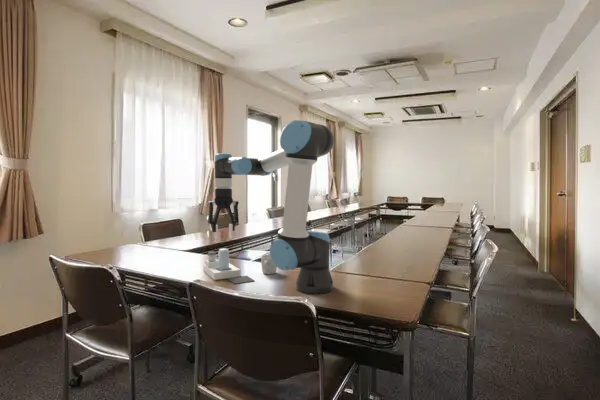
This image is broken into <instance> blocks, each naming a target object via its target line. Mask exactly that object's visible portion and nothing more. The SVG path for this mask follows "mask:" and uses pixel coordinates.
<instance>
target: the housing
mask: <svg viewBox="0 0 600 400" xmlns="http://www.w3.org/2000/svg"><path fill="white" fill-rule="evenodd" d="M204 261H205V262H204V263H205V264H203V267H202V269H203V272H204V273H205V274H207V275H208V276H209V277H210V278H211V279H212V280H213V281H216V280H223V279H228V278H233V277H240V276H241V269H240V268H238V267H236V266H235V265H233V264H232V263H230V262H229V270H224V271H218V258H216V261H212V262H209V259H205V260H204Z"/></svg>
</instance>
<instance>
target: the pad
mask: <svg viewBox="0 0 600 400" xmlns="http://www.w3.org/2000/svg"><path fill="white" fill-rule="evenodd" d="M227 280H228V281H229V282H231V283H232V284H233V285H240V284H246V283H253V282H255V279H253V278H252V277H250V276H248V275H242V276H241V275H240V277H232V278H227Z"/></svg>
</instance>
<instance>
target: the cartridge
mask: <svg viewBox="0 0 600 400" xmlns="http://www.w3.org/2000/svg"><path fill="white" fill-rule="evenodd" d="M217 253H218V254H217V255H218V257H217V260H218V271H224V270H229V263H230V251H229V249H228V248H219V249H218V251H217Z"/></svg>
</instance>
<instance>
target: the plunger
mask: <svg viewBox="0 0 600 400" xmlns="http://www.w3.org/2000/svg"><path fill="white" fill-rule="evenodd" d="M207 255H208V260H209V262H212V261H216V259H217V258H216V255H217V252H216V251H208V253H207Z"/></svg>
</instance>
